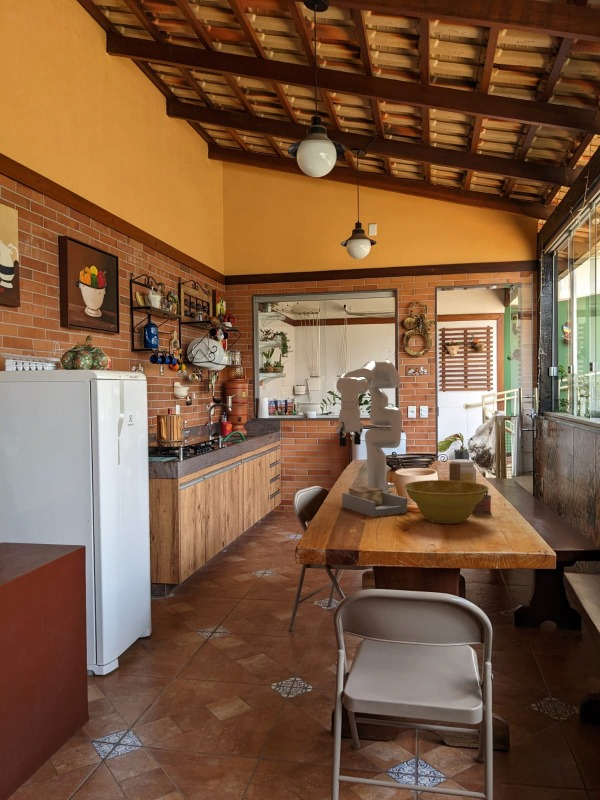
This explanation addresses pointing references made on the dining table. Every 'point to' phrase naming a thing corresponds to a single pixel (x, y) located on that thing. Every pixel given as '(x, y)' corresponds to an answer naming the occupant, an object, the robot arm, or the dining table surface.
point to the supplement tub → (467, 470)
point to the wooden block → (455, 471)
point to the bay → (388, 506)
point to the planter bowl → (445, 499)
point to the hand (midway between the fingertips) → (350, 445)
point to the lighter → (483, 505)
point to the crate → (368, 493)
